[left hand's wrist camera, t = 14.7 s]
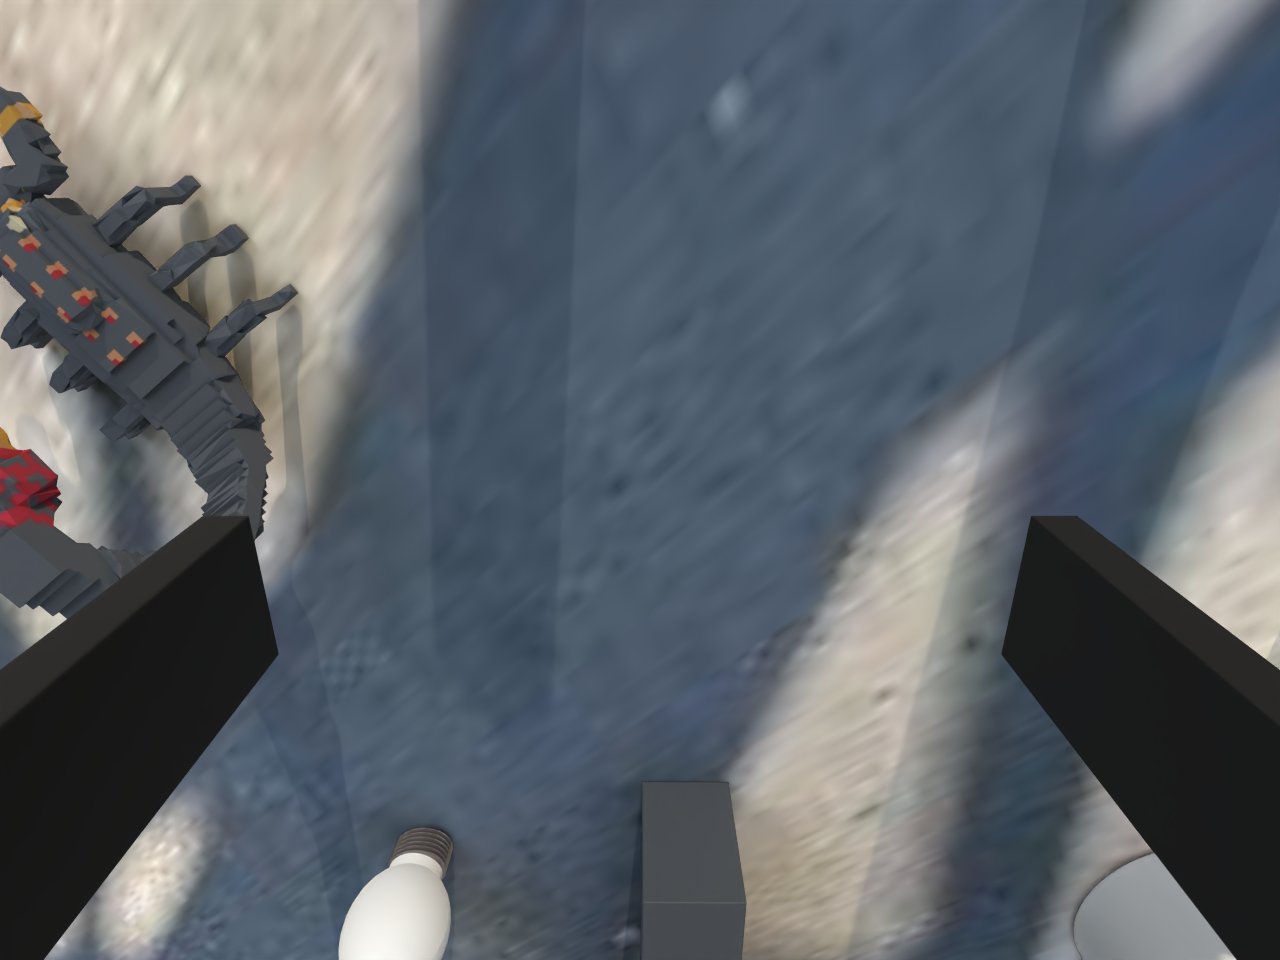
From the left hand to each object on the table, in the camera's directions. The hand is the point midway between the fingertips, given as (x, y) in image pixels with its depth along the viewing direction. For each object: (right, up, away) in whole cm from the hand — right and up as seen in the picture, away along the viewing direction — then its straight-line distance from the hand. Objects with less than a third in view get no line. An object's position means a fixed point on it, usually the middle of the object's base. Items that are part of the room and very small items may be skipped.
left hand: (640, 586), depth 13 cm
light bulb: (-16, -25, +42) cm, 51 cm away
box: (+3, -32, +45) cm, 55 cm away
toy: (-26, +12, +27) cm, 40 cm away
